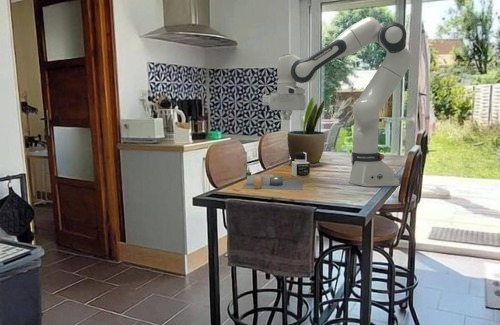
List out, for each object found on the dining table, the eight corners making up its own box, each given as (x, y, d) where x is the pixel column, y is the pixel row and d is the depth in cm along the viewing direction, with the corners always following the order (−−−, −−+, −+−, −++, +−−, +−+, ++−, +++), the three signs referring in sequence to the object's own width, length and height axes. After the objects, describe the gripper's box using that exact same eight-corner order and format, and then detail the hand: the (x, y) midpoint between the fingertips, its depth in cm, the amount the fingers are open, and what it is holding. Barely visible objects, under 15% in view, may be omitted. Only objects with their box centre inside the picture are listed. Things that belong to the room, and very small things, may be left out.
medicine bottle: (296, 177, 213) (296, 153, 211) (291, 175, 220) (291, 151, 218) (309, 176, 215) (310, 152, 213) (304, 174, 221) (304, 151, 220)
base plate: (303, 182, 200) (303, 169, 199) (302, 192, 181) (302, 178, 180) (248, 181, 204) (248, 169, 203) (241, 191, 185) (241, 177, 184)
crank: (282, 182, 195) (282, 171, 194) (282, 185, 189) (282, 173, 188) (246, 182, 196) (246, 171, 195) (245, 185, 190) (245, 173, 189)
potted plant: (327, 168, 237) (328, 95, 231) (288, 168, 238) (288, 96, 232) (322, 162, 258) (322, 95, 252) (286, 162, 259) (286, 96, 252)
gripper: (266, 90, 204) (266, 119, 206) (298, 89, 189) (298, 121, 191) (275, 90, 208) (275, 119, 210) (307, 89, 193) (307, 120, 195)
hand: (286, 120), depth 201 cm, fingers closed
